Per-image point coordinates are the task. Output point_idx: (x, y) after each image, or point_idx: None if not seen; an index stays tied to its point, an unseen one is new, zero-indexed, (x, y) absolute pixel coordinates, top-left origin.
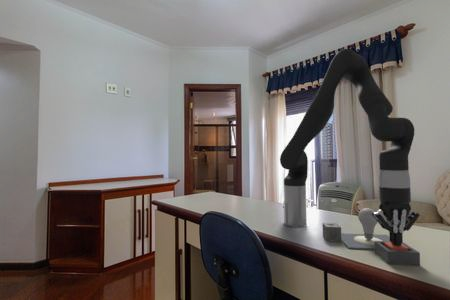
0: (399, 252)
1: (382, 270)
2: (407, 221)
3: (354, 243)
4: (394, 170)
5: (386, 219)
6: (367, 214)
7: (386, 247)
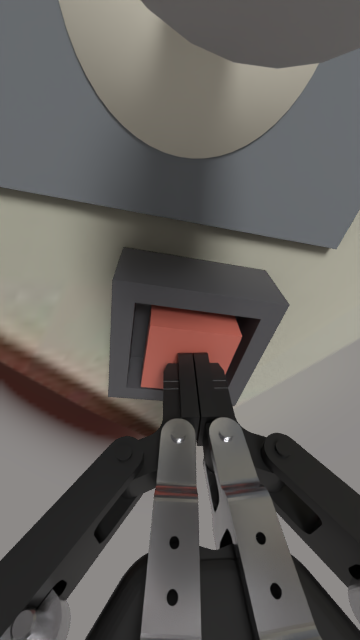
0: (156, 398)
1: (71, 386)
2: (320, 521)
3: (21, 80)
4: None
5: (152, 526)
6: None
7: (147, 336)
